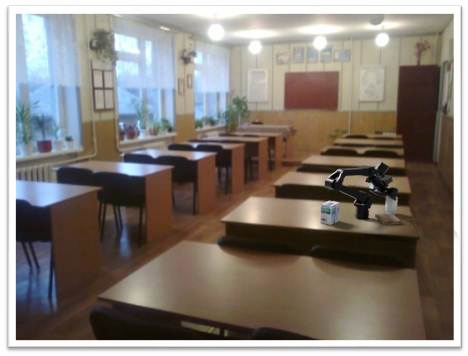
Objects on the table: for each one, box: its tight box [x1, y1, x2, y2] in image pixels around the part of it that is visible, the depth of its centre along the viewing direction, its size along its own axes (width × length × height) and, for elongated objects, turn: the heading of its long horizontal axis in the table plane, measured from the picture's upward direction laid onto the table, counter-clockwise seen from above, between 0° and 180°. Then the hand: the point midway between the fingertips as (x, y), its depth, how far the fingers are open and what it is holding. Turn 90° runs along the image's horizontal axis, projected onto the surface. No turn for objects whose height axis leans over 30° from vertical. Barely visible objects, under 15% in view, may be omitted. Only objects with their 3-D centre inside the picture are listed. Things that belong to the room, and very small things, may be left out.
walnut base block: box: [374, 213, 403, 225], centre depth 244 cm, size 10×14×2 cm
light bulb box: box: [320, 200, 341, 226], centre depth 241 cm, size 11×7×11 cm, turn 143°
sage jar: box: [384, 195, 399, 216], centre depth 258 cm, size 6×6×10 cm
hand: (390, 198), depth 257 cm, fingers open, 9 cm apart
